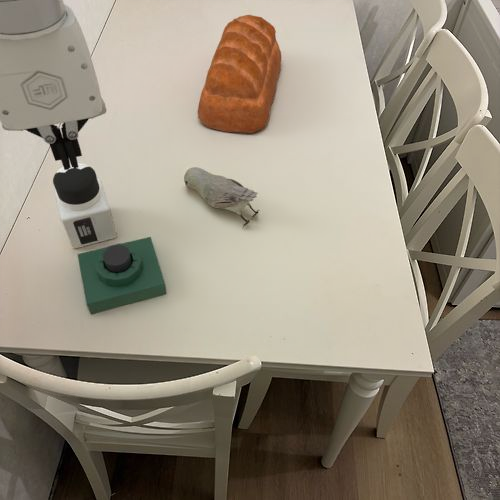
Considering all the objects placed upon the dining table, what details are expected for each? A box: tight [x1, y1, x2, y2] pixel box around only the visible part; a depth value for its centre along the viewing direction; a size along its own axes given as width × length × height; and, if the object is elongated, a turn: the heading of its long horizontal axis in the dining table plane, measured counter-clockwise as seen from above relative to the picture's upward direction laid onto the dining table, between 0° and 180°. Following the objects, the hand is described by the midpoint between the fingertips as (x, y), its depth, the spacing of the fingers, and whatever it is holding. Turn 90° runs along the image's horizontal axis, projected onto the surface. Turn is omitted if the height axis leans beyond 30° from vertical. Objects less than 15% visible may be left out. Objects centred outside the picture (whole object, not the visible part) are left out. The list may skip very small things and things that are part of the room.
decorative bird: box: [183, 166, 260, 230], centre depth 87 cm, size 5×16×8 cm, turn 54°
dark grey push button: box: [103, 244, 132, 273], centre depth 75 cm, size 4×4×2 cm
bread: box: [197, 14, 283, 134], centre depth 108 cm, size 16×31×13 cm, turn 170°
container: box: [52, 162, 118, 249], centre depth 80 cm, size 8×8×13 cm
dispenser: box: [77, 236, 167, 315], centre depth 77 cm, size 12×10×5 cm
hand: (70, 160), depth 57 cm, fingers closed
